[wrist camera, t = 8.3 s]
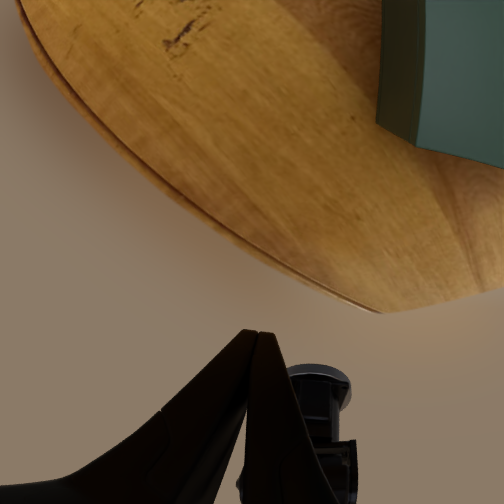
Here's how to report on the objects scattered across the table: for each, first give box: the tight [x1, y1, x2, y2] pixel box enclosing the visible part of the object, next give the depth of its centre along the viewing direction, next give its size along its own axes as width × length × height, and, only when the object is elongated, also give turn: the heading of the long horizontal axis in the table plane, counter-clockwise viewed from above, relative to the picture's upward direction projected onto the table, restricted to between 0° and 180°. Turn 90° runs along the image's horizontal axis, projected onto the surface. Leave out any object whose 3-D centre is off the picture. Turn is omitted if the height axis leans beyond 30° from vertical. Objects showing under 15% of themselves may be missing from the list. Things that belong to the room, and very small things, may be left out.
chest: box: [376, 0, 419, 143], centre depth 10 cm, size 13×11×7 cm
